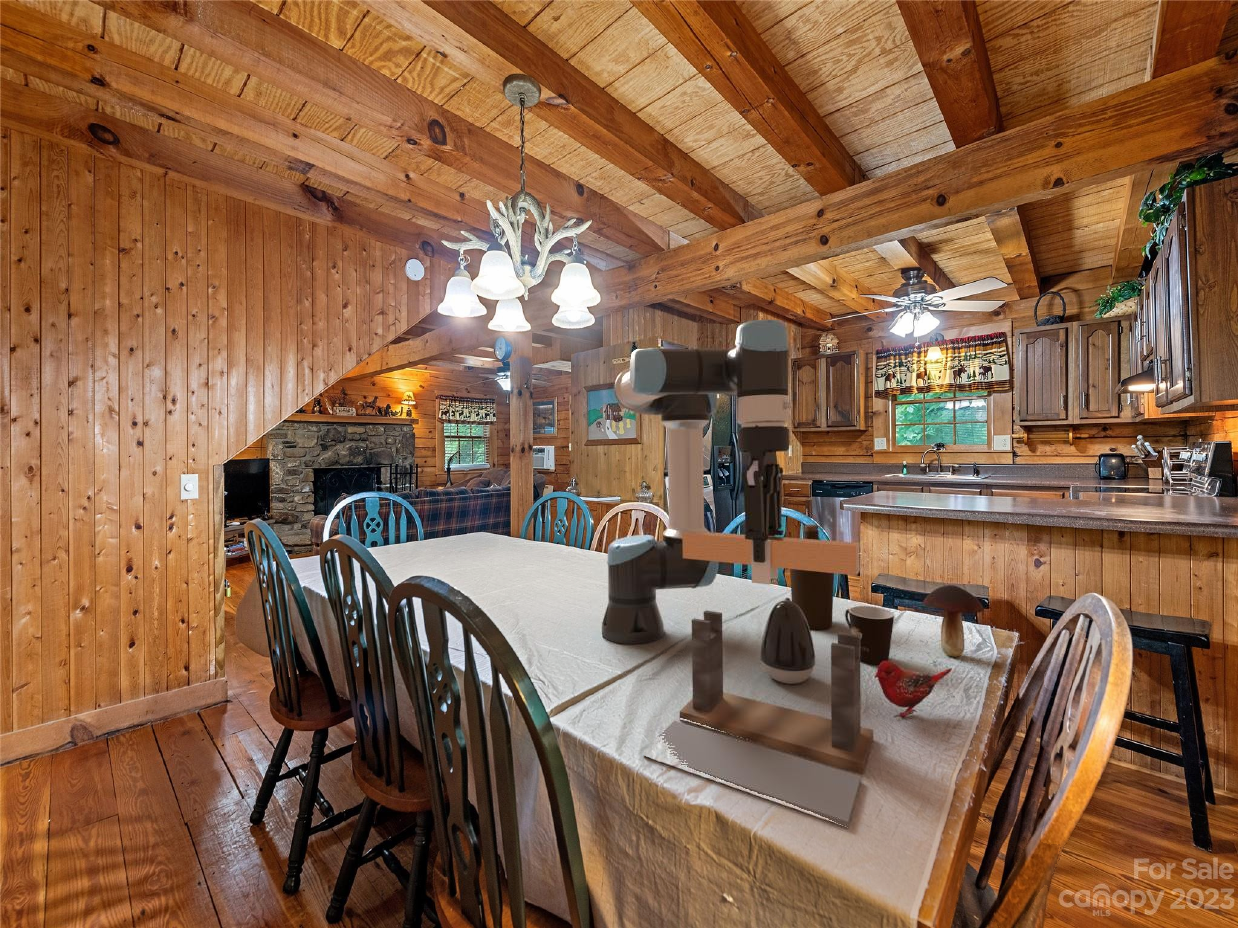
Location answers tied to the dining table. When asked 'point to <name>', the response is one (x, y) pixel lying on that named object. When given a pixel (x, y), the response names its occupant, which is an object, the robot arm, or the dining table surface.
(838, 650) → the rail stand
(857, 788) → the rubber mat
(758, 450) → the robot arm
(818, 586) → the olive oil
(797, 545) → the copper rail
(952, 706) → the dining table surface
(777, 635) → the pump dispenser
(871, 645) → the coffee mug
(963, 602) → the decorative mushroom
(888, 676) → the decorative bird figurine
